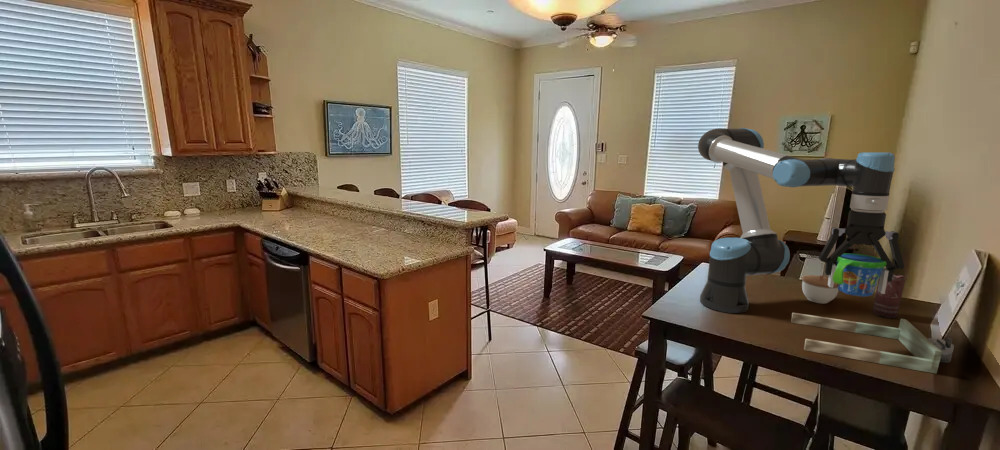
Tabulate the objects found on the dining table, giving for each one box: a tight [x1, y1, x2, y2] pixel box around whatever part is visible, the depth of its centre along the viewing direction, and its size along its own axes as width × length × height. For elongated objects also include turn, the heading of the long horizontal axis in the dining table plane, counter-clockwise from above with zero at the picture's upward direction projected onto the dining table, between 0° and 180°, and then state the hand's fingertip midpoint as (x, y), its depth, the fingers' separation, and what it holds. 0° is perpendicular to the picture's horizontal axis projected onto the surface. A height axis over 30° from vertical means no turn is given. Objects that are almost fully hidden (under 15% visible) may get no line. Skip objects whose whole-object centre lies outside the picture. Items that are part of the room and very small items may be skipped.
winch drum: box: [927, 337, 955, 364], centre depth 109 cm, size 5×6×7 cm
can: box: [872, 272, 906, 319], centre depth 136 cm, size 6×6×14 cm
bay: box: [790, 312, 942, 374], centre depth 118 cm, size 27×20×6 cm
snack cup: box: [833, 252, 887, 298], centre depth 114 cm, size 16×10×10 cm
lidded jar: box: [801, 274, 839, 305], centre depth 149 cm, size 11×11×9 cm
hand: (855, 289), depth 115 cm, fingers closed on snack cup, 10 cm apart
